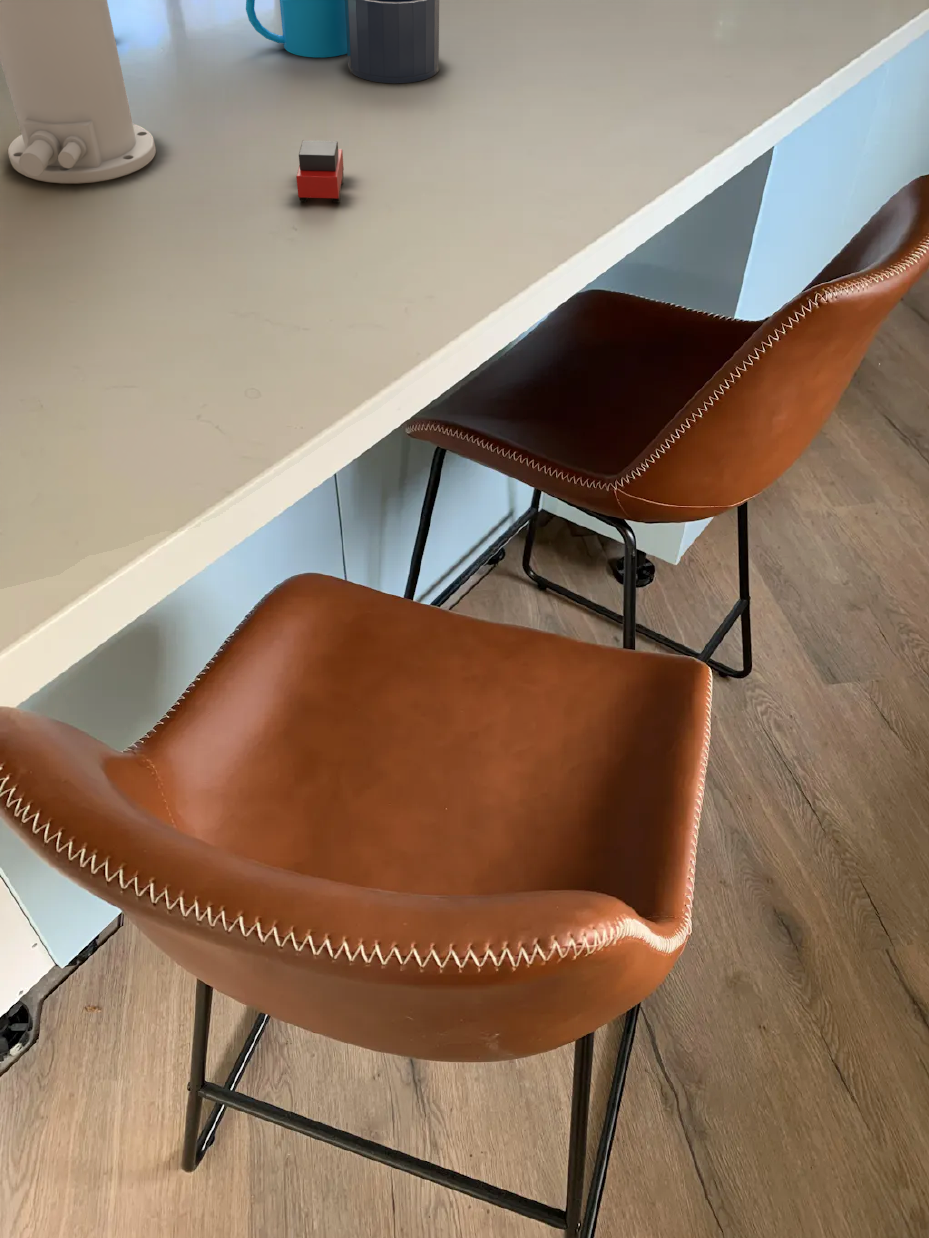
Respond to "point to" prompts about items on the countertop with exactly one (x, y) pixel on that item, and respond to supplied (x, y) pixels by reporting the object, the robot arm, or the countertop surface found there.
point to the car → (320, 170)
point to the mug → (308, 27)
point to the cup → (392, 39)
